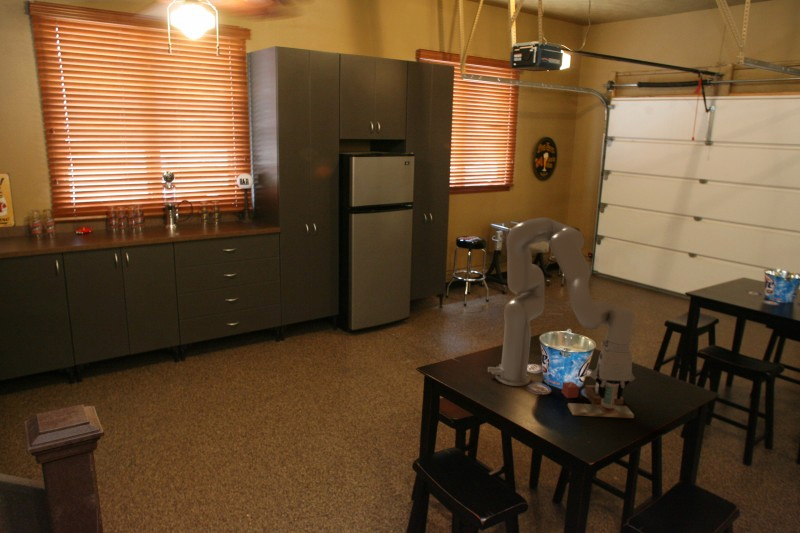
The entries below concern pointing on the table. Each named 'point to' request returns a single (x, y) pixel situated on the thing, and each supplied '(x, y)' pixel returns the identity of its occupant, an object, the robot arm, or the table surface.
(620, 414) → the board
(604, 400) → the spice shaker bottle
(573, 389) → the die
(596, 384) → the white squat cylinder
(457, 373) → the table surface
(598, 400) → the square wooden tray
